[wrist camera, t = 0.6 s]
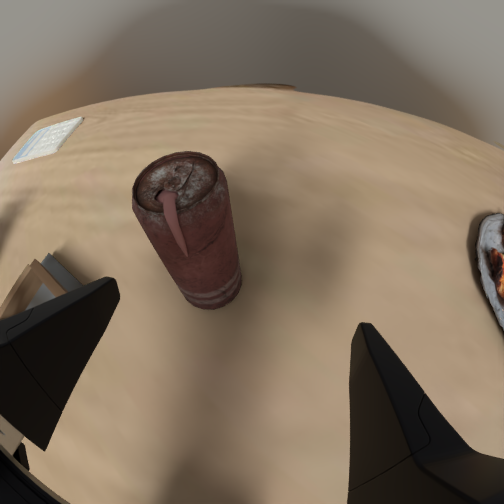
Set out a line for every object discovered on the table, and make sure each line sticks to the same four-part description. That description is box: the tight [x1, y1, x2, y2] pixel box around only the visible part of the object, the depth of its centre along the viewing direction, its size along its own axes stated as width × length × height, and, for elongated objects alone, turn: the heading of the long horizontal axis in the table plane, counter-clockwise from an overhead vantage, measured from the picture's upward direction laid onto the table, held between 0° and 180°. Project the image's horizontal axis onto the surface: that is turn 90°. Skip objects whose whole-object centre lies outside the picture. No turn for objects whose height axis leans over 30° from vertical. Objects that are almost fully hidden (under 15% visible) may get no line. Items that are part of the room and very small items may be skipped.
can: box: [132, 151, 242, 309], centre depth 21 cm, size 6×6×14 cm
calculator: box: [12, 117, 83, 164], centre depth 48 cm, size 13×20×2 cm, turn 85°
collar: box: [0, 253, 83, 320], centre depth 23 cm, size 14×14×4 cm
